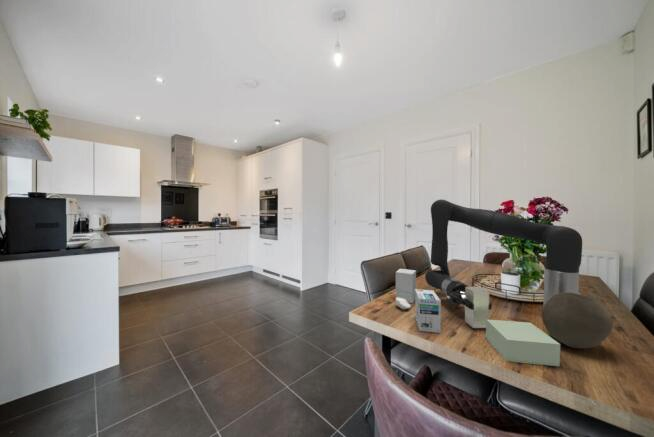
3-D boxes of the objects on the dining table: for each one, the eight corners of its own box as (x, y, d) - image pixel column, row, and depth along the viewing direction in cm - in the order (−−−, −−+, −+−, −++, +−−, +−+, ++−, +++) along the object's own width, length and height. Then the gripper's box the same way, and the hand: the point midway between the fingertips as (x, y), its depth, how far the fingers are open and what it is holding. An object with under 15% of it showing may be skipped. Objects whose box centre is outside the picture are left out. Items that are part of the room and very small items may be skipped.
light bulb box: (441, 333, 79) (441, 300, 78) (419, 331, 80) (419, 298, 80) (433, 319, 89) (434, 289, 89) (414, 317, 91) (414, 288, 90)
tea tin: (479, 320, 86) (480, 286, 85) (488, 327, 81) (489, 291, 80) (464, 320, 86) (465, 286, 85) (473, 327, 81) (473, 291, 80)
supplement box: (416, 298, 110) (416, 270, 109) (412, 303, 104) (412, 274, 103) (399, 295, 114) (400, 268, 113) (394, 300, 108) (395, 271, 107)
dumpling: (392, 305, 102) (392, 296, 101) (403, 304, 103) (404, 295, 103) (402, 312, 95) (402, 302, 95) (414, 311, 96) (414, 301, 96)
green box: (529, 342, 74) (530, 322, 74) (559, 367, 62) (560, 344, 62) (485, 338, 76) (486, 319, 76) (506, 362, 65) (507, 339, 64)
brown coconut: (596, 365, 63) (598, 307, 62) (531, 338, 76) (533, 290, 75) (620, 352, 68) (623, 299, 68) (556, 329, 81) (558, 284, 81)
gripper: (437, 280, 97) (459, 295, 80) (474, 280, 97) (504, 295, 80) (437, 299, 98) (459, 318, 81) (473, 299, 97) (503, 318, 80)
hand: (481, 306), depth 80 cm, fingers closed on tea tin, 5 cm apart
